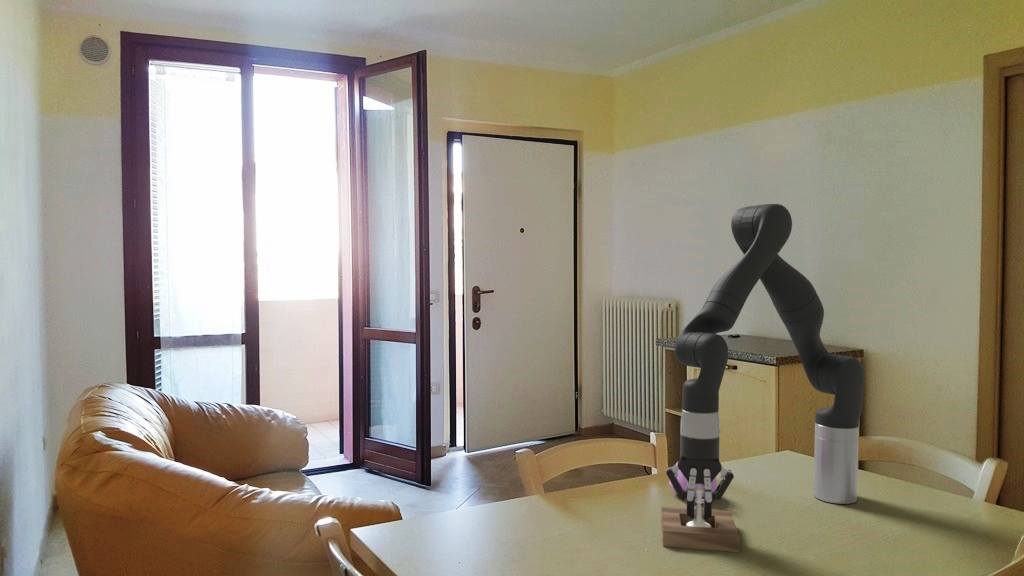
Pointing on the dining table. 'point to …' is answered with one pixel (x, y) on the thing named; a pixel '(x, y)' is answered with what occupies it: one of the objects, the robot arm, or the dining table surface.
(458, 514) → the dining table surface
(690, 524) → the chess piece
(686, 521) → the socket block
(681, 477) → the teapot
